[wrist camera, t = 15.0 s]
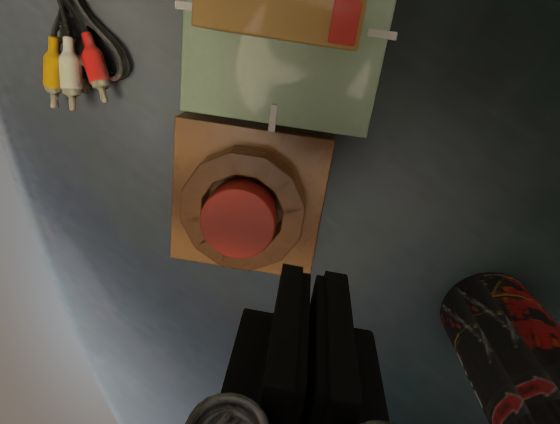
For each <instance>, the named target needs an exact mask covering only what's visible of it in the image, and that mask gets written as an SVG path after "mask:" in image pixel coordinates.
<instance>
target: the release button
mask: <svg viewBox="0 0 560 424" xmlns="http://www.w3.org/2000/svg"><path fill="white" fill-rule="evenodd" d="M277 218H278V210H277V206H276V203H275V200H274V199H273V197H272V195H271V194H270V193H269V192H268V191H267V190H266V189H265V188H264V187H263V186H261V185H260V184H258V183H256V182H253V181H250V180H246V179H235V180H230V181H227V182H225V183H223V184H221V185H219V186H218V187H217V188H216V189H215V190H214V191H213V193H212V194H211V195H210V197H209V198H208V199H207V201H206V202H205V204H204V205H203V208H202V210H201V213H200V228H201V232H202V234H203V237H204V238H205V240H206V241H207V243H208V244H209V245H210V246H211V247H212V248H213V249H214V250H216V251H217V252H219V253H220V254H222V255H225V256H228V257H231V258H249V257H252V256H255V255H257V254H259V253H261V252H262V251H263V250H265V249H266V248H267V247H268V245H269V244H270V242H271V241H272V239H273V236H274V232H275V228H276V223H277Z"/></svg>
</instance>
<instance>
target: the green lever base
mask: <svg viewBox="0 0 560 424" xmlns="http://www.w3.org/2000/svg"><path fill="white" fill-rule="evenodd" d="M367 1H368V2H367V7H366V12H365V17H364V22H363V27H362V32H361V37H360V42H359V47H358V50H357V51H347V50H340V49H334V48H327V47H320V46H314V45H307V44H301V43H294V42H288V41H281V40H275V39H268V38H261V37H255V36H248V35H242V34H235V33H229V32H222V31H216V30H211V29H205V28H200V27H195V26H192V24H191V19H192V0H184V2H183V1H176V0H175V9H180V10H183V31H182V58H181V86H180V110H181V111H187V112H194V113H200V114H207V115H214V116H220V117H227V118H233V119H240V120H247V121H253V122H260V123H267V124H269V125H268V131H270V132H275V126H276V125H280V126H287V127H293V128H300V129H307V130H313V131H320V132H327V133H333V134H340V135H347V136H353V137H360V138H366V137H367V133H368V128H369V124H370V119H371V114H372V110H373V105H374V101H375V96H376V92H377V87H378V82H379V78H380V73H381V69H382V64H383V60H384V55H385V50H386V46H387V41H388V40H396V38H397V34H398V32H392V31H390V28H391V23H392V18H393V14H394V9H395V5H396V0H367Z"/></svg>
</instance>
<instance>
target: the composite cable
mask: <svg viewBox="0 0 560 424" xmlns="http://www.w3.org/2000/svg"><path fill="white" fill-rule="evenodd" d="M57 2H58V4H59V12H58V15H57V17H56V19H55V21H54V23H53V26H52V29H51V36H49V37H48V51H47V52H46V53H45V55H44V56H43V86H44V87H45V90H46V92H48V93H50V96H51V105H50V107H52V108H58V107H59V103H58V97H59V94H60V93H61V91H62V93H63V94H64V95H66V96H67V97H68V98H69V100H68V101H69V109H70V110H71V111H73V112H74V111H76V97H77V96H79V95H81V92H82V93H90V89H89V83H90V84H91V85H92V87H93V88H96V89H98V91H99V92H100V98H101V101H102V102H103V103H107V102H108V98H107V95H106V91H105V90H106V89H107V88H108V87H109V86H110V85H109V81H117V80H123V79H125V78H126V77H127V75H128V74H129V72H130V63H129V60H128V58H127V56H126V54H125V51H124V49H123V48H122V46H121V45H120V44H119V43H118V42H117V40H116V39H115V38H114V37H113V36H112V35H111V34H110V33H109V32H108V31H107V30H106V29H105V28H103V26H102V25H101V24H100V23H99V22H98V21H97V20H96V19H95V18H94V16H93V15H92V14H91V13H90V11H89V10H88V8H87V7H86V5H85V4H84V2H83V1H82V0H57ZM59 25H61V27H59ZM88 26H89V27H90V28H92V29H93V30H94V31H95V32H96V33H97V34H98V35H99V36H100V37H101V38H102V39H103V40H104V42H105V43H106V44H107V45H108V46H109V47H110V48H111V50H112V51H113V53H114V56H115V58H116V61H117V64H118V70H117V72H116V74H114V73H112V72H110V71H109V70H108V69H107V67H106V63H105V60H104V56H103V53H102V51H101V50H100V49H99V48H97V47H96V45H95V43H94V38H93V36H92V33H91V32H90V31H89V28H88ZM57 31H59V37H57ZM61 43H62V44H63V51H62V53H61V51H60V46H61ZM81 90H82V91H81Z"/></svg>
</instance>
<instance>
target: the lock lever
mask: <svg viewBox="0 0 560 424" xmlns="http://www.w3.org/2000/svg"><path fill="white" fill-rule="evenodd" d="M367 2H368V1H367V0H192V19H191V24H192V26H195V27H200V28H205V29H211V30H216V31H222V32H229V33H235V34H242V35H248V36H255V37H261V38H268V39H275V40H281V41H288V42H294V43H301V44H307V45H314V46H320V47H327V48H334V49H340V50H347V51H357V50H358V47H359V42H360V37H361V32H362V27H363V22H364V17H365V12H366V7H367Z"/></svg>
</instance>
